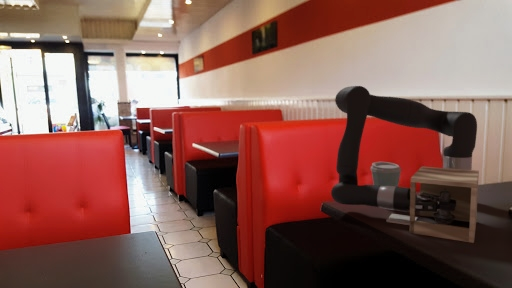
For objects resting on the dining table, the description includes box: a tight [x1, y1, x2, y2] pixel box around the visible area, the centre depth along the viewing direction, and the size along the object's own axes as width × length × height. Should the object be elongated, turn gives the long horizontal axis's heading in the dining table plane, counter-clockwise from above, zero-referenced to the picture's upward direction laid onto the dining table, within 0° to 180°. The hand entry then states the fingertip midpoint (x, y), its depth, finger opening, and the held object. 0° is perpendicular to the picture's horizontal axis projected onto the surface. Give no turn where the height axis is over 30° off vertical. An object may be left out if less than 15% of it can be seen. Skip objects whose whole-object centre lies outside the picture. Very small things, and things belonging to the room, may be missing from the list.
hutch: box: [408, 166, 480, 244], centre depth 111 cm, size 19×16×16 cm
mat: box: [386, 213, 419, 226], centre depth 119 cm, size 8×8×1 cm
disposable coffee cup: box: [370, 161, 402, 187], centre depth 136 cm, size 11×11×15 cm
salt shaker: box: [433, 188, 455, 225], centre depth 111 cm, size 6×6×12 cm
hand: (455, 205), depth 110 cm, fingers closed on salt shaker, 3 cm apart
